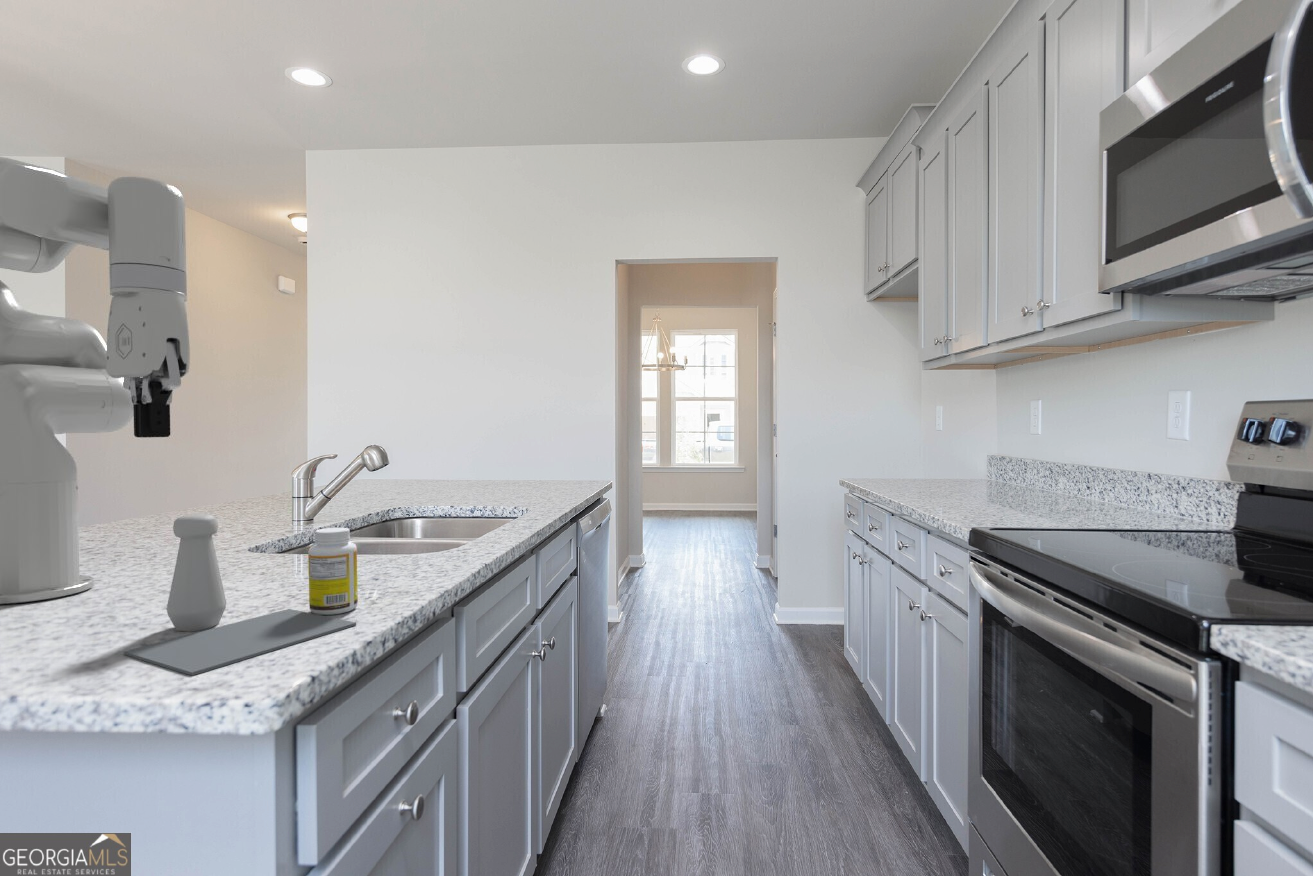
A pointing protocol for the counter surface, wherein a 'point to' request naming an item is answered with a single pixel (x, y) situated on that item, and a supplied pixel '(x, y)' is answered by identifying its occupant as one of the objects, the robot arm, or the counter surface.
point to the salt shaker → (196, 576)
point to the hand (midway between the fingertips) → (152, 436)
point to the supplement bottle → (332, 572)
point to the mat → (237, 641)
